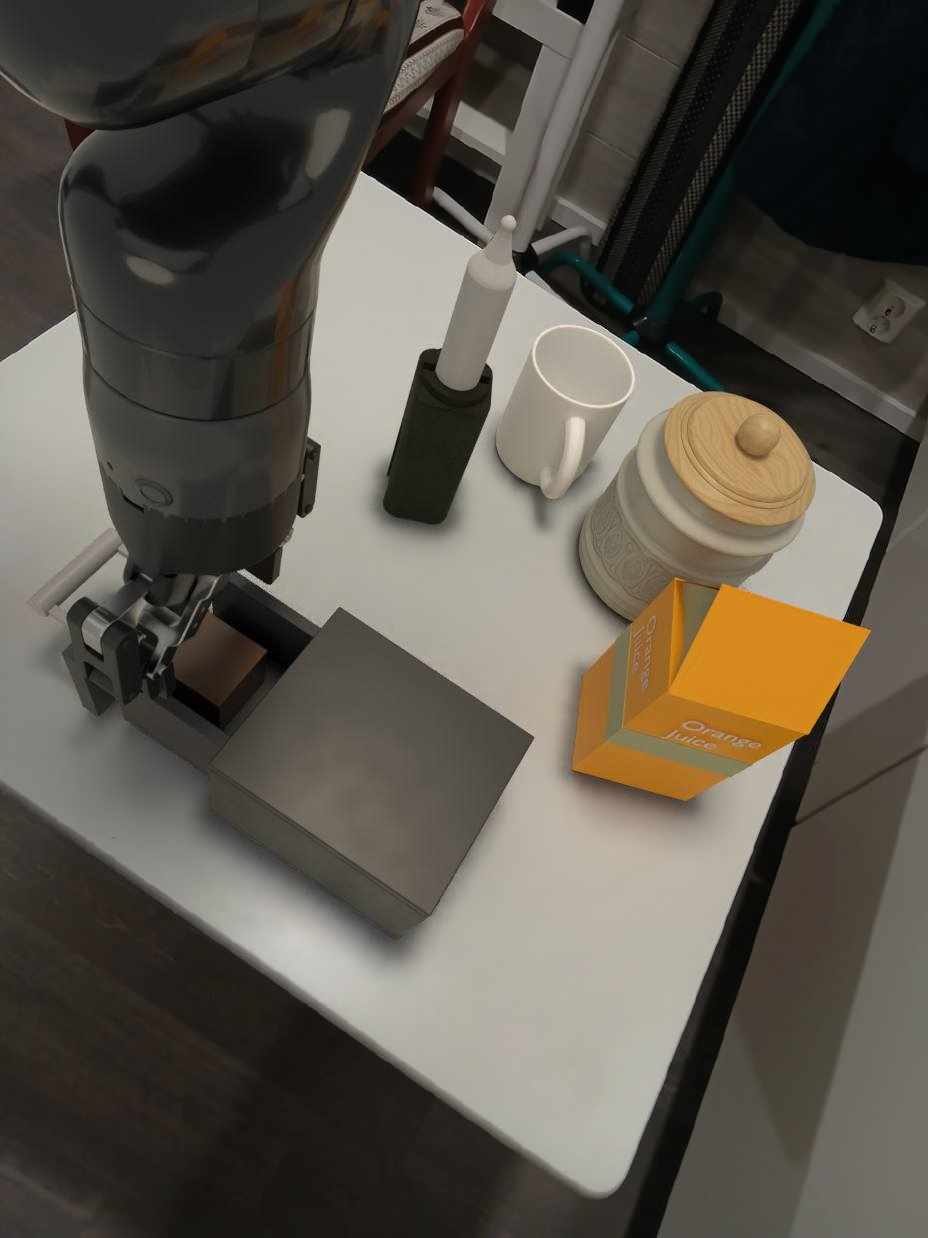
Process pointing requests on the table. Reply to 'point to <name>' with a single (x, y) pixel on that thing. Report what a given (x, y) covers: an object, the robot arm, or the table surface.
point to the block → (218, 671)
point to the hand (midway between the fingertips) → (209, 626)
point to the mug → (563, 406)
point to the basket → (158, 717)
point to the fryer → (367, 773)
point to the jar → (697, 501)
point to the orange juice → (707, 688)
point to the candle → (452, 391)
